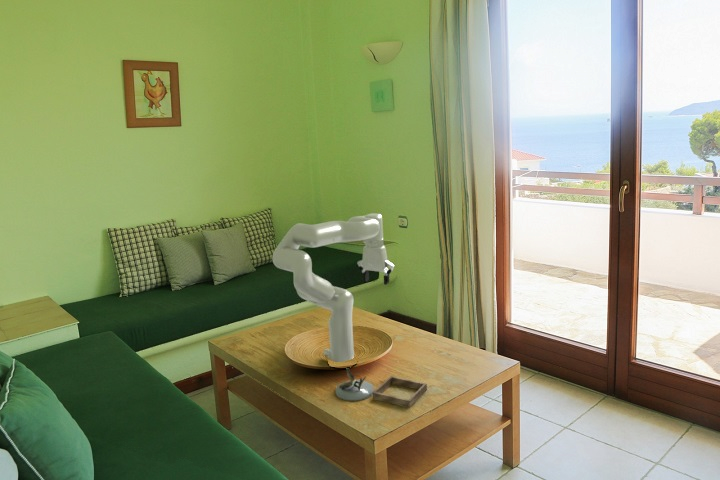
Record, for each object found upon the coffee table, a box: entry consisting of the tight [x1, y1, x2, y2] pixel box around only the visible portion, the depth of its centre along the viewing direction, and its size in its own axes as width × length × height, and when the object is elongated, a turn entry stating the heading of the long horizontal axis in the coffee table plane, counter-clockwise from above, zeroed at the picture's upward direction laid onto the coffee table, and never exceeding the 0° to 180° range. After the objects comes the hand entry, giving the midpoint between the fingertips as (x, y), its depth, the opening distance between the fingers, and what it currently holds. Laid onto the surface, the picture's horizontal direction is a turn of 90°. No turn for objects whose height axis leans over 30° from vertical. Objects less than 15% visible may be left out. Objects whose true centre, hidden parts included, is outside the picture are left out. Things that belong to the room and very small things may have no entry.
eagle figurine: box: [339, 368, 367, 391], centre depth 214 cm, size 8×7×9 cm
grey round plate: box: [335, 379, 375, 402], centre depth 214 cm, size 14×14×1 cm
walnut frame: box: [372, 375, 428, 409], centre depth 210 cm, size 15×14×2 cm
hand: (376, 282), depth 248 cm, fingers open, 9 cm apart
